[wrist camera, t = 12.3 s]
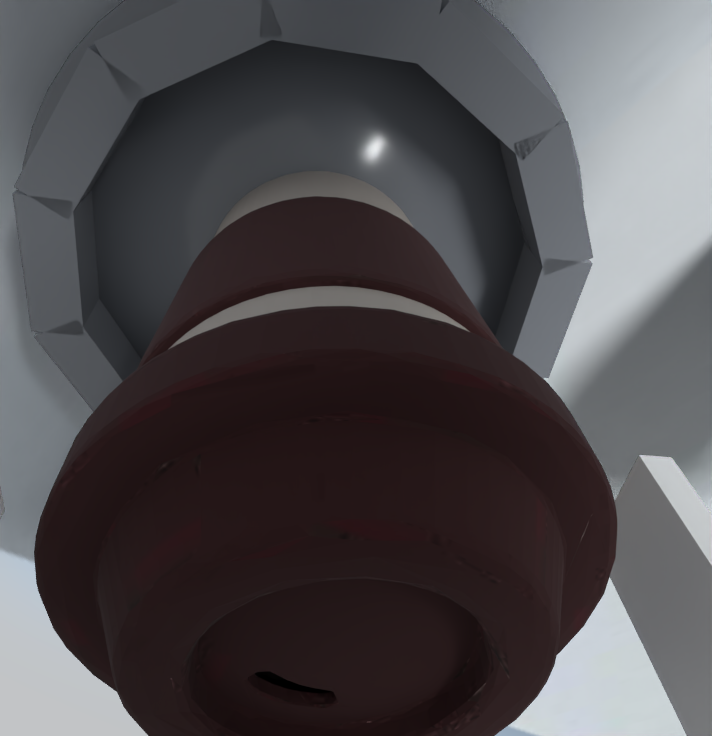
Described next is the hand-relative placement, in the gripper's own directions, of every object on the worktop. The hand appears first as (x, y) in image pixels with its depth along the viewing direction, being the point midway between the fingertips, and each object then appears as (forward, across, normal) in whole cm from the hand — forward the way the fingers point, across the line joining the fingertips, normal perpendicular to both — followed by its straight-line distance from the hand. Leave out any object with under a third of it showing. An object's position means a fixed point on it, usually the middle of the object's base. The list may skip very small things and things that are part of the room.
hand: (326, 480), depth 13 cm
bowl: (+12, 0, 0) cm, 12 cm away
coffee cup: (+11, 0, 0) cm, 11 cm away
